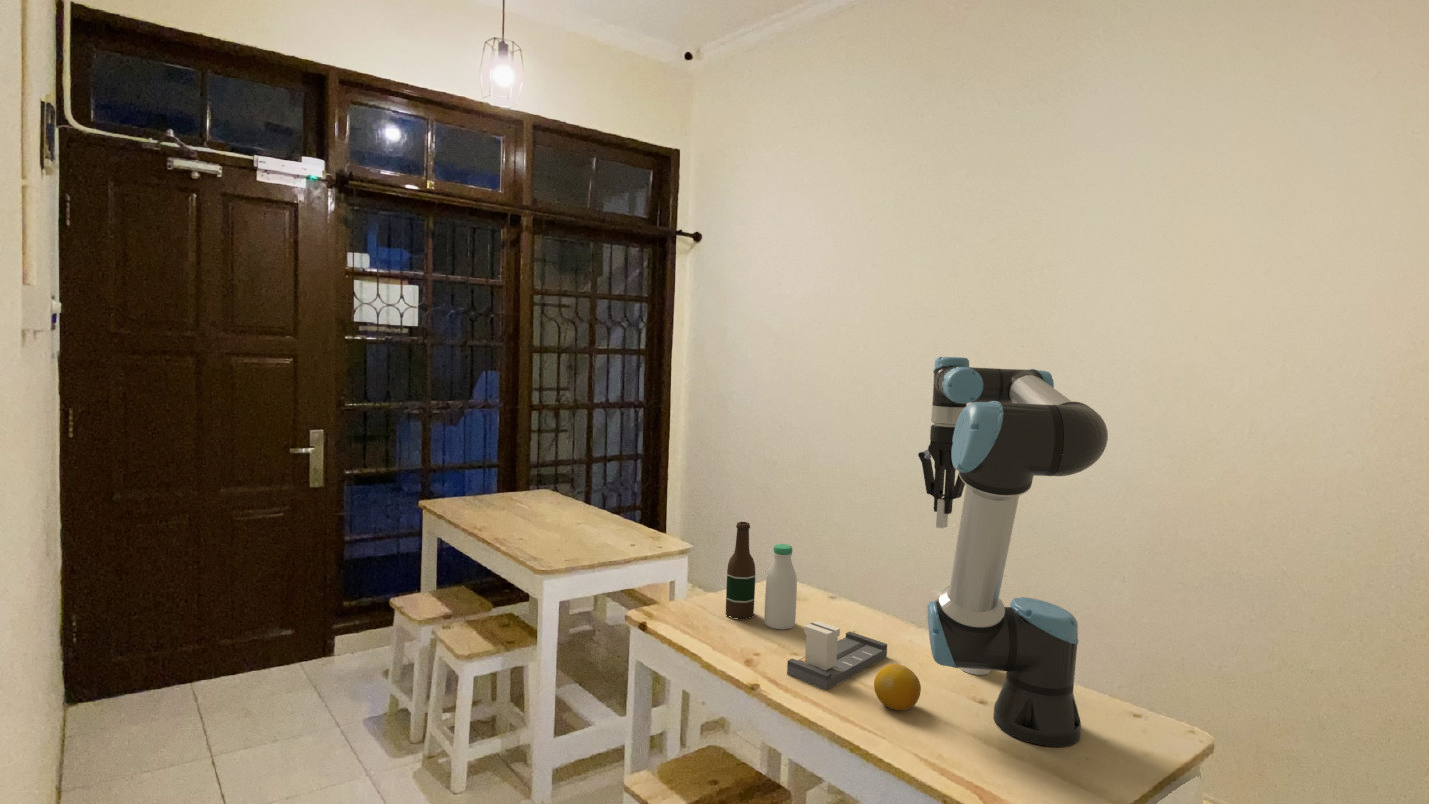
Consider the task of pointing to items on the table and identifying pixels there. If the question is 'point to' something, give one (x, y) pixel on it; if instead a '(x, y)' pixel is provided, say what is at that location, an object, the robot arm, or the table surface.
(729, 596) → the beer bottle
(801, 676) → the slider console
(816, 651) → the fader knob
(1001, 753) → the table surface
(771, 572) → the milk bottle
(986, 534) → the robot arm
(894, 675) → the fruit
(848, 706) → the table surface
